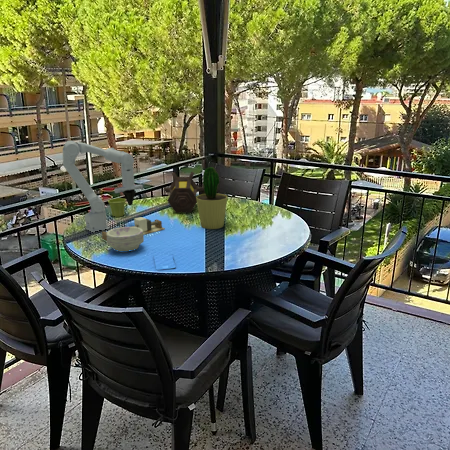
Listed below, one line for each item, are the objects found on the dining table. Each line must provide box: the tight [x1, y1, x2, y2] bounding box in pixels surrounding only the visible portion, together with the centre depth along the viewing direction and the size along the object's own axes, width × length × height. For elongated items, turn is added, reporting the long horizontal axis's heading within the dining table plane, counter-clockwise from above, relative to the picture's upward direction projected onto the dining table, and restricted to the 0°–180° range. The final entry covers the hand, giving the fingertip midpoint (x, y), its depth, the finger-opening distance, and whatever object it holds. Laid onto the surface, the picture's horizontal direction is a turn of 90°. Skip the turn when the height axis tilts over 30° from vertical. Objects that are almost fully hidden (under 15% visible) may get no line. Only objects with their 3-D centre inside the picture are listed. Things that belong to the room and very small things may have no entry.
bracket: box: [146, 218, 152, 230], centre depth 200 cm, size 2×4×4 cm, turn 42°
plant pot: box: [107, 197, 127, 218], centre depth 226 cm, size 9×9×9 cm
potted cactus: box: [196, 166, 228, 230], centre depth 204 cm, size 15×15×30 cm
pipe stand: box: [101, 219, 166, 241], centre depth 196 cm, size 30×8×4 cm, turn 131°
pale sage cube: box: [133, 216, 148, 232], centre depth 198 cm, size 4×5×6 cm
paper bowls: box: [106, 226, 145, 252], centre depth 177 cm, size 15×15×8 cm
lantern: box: [163, 171, 204, 214], centre depth 239 cm, size 21×23×30 cm
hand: (130, 204), depth 208 cm, fingers closed
